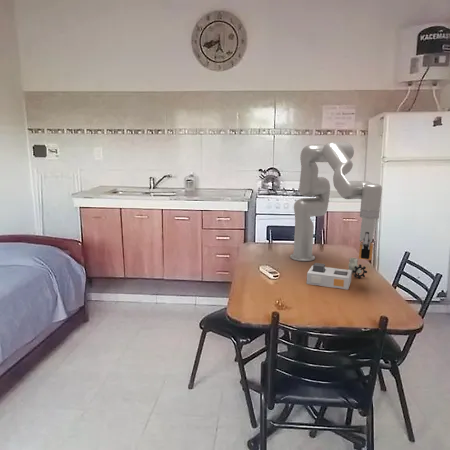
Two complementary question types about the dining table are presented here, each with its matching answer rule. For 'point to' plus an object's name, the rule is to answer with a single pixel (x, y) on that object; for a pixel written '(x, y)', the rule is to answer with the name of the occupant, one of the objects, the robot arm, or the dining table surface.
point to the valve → (356, 267)
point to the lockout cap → (369, 248)
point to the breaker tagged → (341, 273)
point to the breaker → (319, 267)
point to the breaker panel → (329, 278)
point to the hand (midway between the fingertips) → (365, 256)
